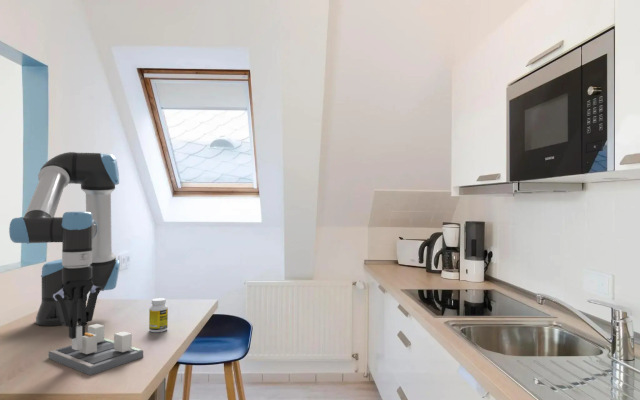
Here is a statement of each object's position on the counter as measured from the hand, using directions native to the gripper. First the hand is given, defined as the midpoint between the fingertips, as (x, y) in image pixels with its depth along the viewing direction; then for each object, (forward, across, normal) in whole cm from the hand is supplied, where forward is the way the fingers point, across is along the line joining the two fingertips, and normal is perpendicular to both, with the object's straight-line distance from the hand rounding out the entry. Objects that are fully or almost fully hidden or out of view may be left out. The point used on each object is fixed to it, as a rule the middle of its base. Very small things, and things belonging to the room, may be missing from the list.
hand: (76, 348), depth 123 cm
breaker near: (+2, +10, -7) cm, 12 cm away
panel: (+4, +6, 0) cm, 7 cm away
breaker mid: (+2, +3, 0) cm, 4 cm away
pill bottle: (+5, +33, +8) cm, 34 cm away
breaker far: (+2, +9, +7) cm, 12 cm away
